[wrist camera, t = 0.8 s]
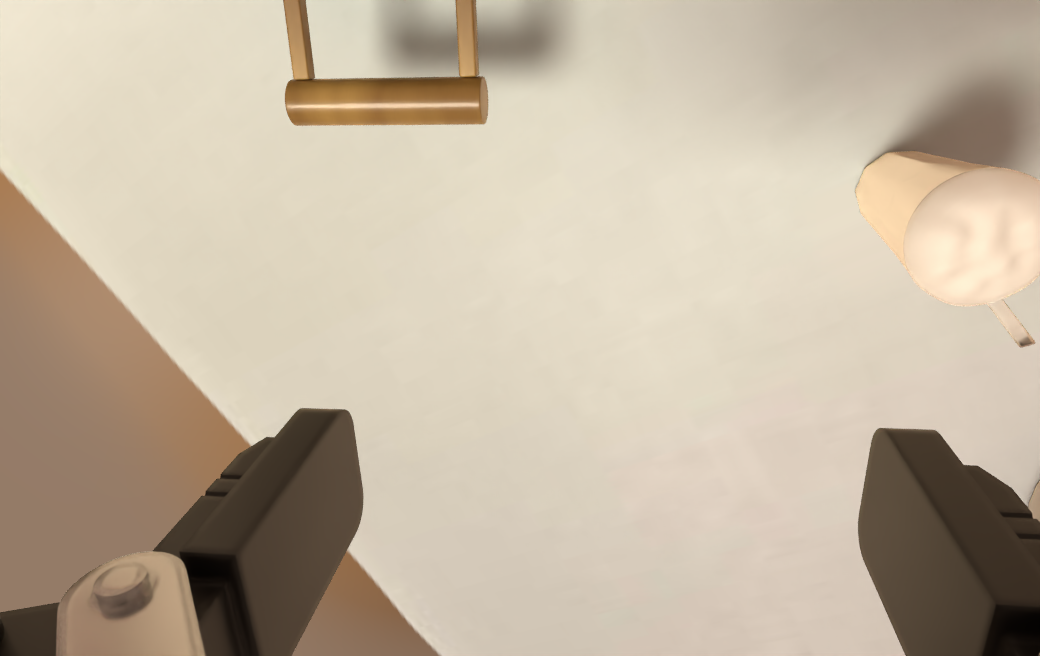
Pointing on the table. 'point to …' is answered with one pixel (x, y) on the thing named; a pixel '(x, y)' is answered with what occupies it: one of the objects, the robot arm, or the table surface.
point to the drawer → (385, 85)
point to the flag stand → (1035, 503)
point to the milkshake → (957, 228)
